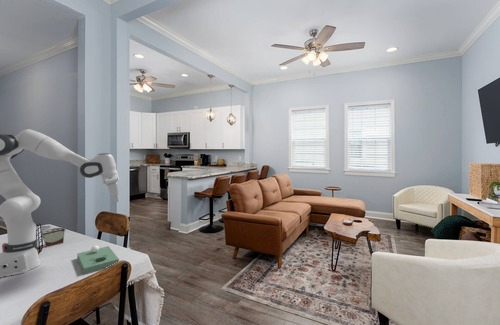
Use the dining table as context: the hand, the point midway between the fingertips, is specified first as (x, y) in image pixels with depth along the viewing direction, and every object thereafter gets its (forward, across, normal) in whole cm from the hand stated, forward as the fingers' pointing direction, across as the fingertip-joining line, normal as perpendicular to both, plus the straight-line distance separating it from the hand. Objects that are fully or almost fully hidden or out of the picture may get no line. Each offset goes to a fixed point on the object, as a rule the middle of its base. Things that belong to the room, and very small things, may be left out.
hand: (116, 200), depth 146 cm
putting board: (+30, +8, -16) cm, 35 cm away
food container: (+24, -36, -43) cm, 61 cm away
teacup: (+22, -54, -52) cm, 79 cm away
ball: (+25, +1, -17) cm, 30 cm away
